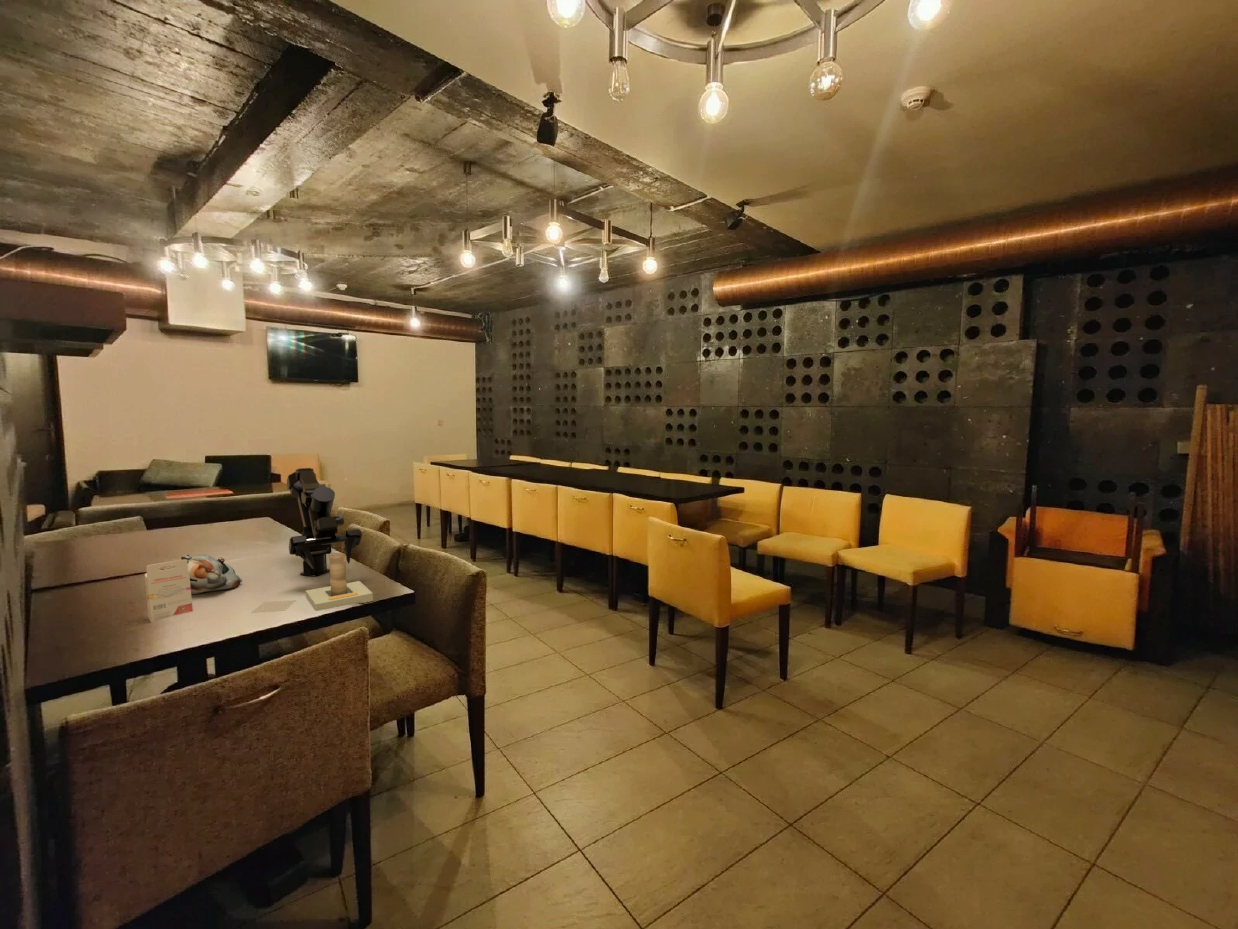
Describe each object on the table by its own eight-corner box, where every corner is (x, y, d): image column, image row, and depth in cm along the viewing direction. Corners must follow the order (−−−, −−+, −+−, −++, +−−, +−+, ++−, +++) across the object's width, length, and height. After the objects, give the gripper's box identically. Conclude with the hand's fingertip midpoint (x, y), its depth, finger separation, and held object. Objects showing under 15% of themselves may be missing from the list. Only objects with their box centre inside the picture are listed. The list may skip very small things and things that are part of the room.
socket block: (306, 599, 151) (305, 589, 151) (359, 589, 160) (359, 580, 160) (316, 613, 140) (315, 603, 140) (373, 602, 149) (372, 592, 149)
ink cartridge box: (189, 609, 143) (185, 555, 142) (193, 614, 140) (189, 558, 138) (147, 618, 137) (142, 561, 136) (149, 623, 134) (145, 565, 132)
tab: (264, 605, 147) (264, 602, 146) (296, 602, 148) (296, 600, 148) (251, 615, 139) (250, 612, 139) (285, 613, 141) (285, 610, 140)
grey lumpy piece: (251, 584, 164) (238, 551, 156) (211, 611, 154) (195, 577, 146) (218, 566, 168) (204, 532, 160) (177, 591, 159) (160, 556, 151)
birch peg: (333, 598, 152) (331, 553, 150) (348, 597, 153) (346, 552, 151) (329, 603, 148) (327, 557, 147) (345, 602, 149) (343, 556, 148)
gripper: (288, 509, 152) (296, 555, 145) (359, 502, 164) (370, 545, 157) (285, 531, 159) (293, 577, 152) (353, 523, 171) (364, 565, 163)
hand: (331, 565), depth 156 cm, fingers open, 9 cm apart
